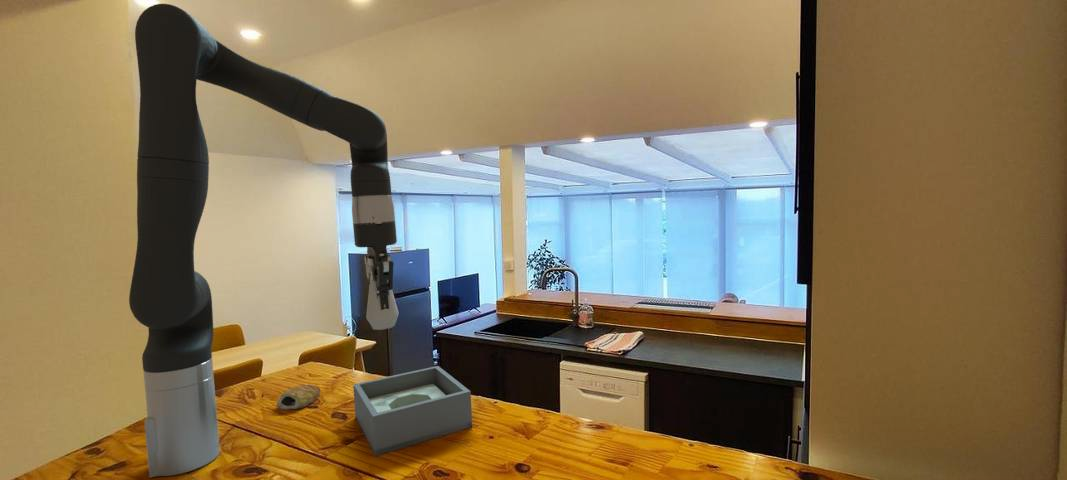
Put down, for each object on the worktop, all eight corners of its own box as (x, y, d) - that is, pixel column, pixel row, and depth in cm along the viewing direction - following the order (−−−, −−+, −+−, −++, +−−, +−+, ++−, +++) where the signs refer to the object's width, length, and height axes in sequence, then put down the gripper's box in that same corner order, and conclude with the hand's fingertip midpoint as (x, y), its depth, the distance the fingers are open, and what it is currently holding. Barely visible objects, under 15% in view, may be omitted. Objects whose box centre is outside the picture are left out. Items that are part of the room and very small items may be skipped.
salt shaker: (404, 322, 89) (398, 256, 88) (392, 330, 83) (386, 260, 82) (375, 323, 90) (369, 258, 89) (361, 331, 84) (355, 262, 83)
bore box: (375, 456, 77) (372, 416, 77) (355, 417, 93) (353, 384, 92) (472, 426, 87) (470, 391, 86) (439, 396, 102) (438, 365, 102)
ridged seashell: (303, 393, 108) (302, 377, 107) (329, 394, 106) (328, 378, 106) (274, 410, 98) (273, 393, 98) (301, 411, 97) (300, 394, 97)
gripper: (346, 222, 89) (354, 308, 90) (360, 221, 77) (369, 321, 78) (385, 219, 93) (392, 302, 94) (404, 218, 81) (412, 313, 82)
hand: (382, 310), depth 86 cm, fingers closed on salt shaker, 3 cm apart
